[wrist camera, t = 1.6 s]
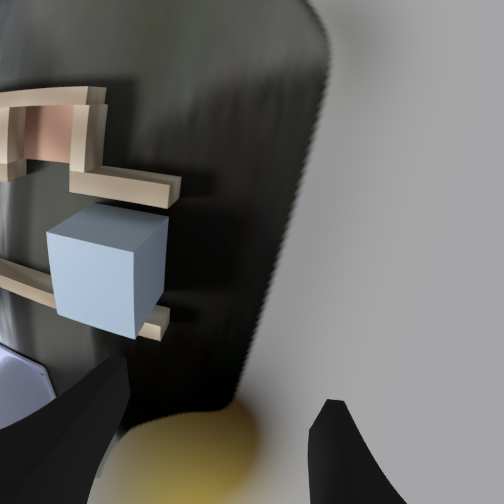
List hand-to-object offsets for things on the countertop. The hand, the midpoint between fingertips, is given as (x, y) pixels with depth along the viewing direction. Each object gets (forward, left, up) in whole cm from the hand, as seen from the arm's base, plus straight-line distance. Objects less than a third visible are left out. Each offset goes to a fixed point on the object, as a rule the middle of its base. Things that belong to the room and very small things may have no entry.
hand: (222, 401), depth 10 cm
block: (0, +8, -10) cm, 12 cm away
